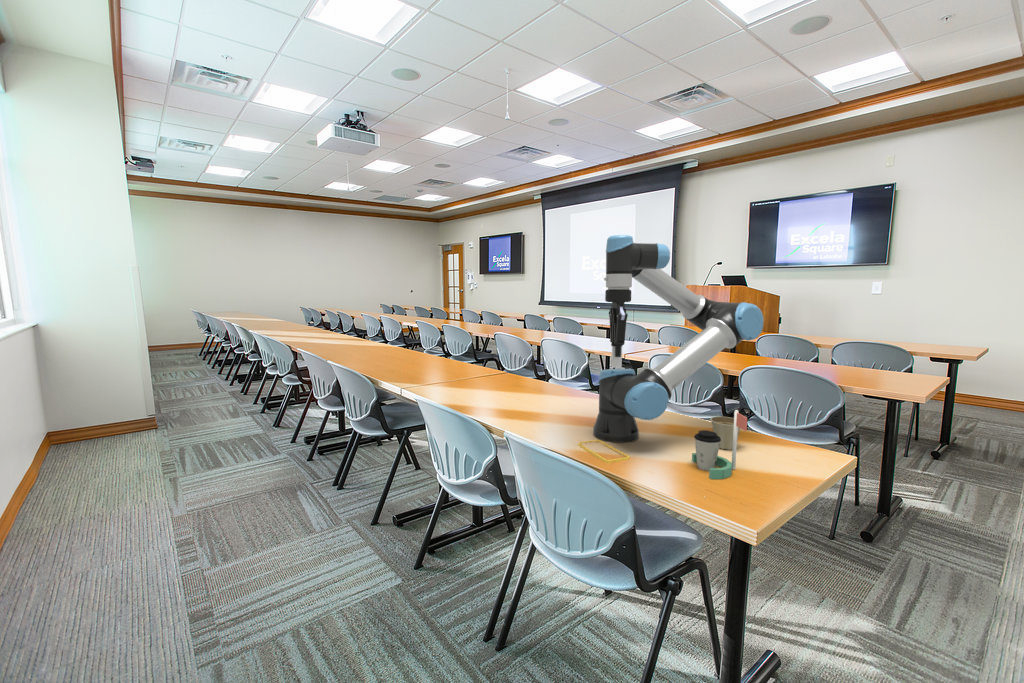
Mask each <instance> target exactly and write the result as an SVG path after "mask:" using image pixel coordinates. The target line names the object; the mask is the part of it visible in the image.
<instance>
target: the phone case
mask: <svg viewBox="0 0 1024 683" xmlns="http://www.w3.org/2000/svg"><path fill="white" fill-rule="evenodd" d="M593 442H595V443H599V442H600V444H601V443H602V444H601V445H603V444H604V445H603V446H605V447H606V448H608V447H609V449H610V448H611V449H610V450H612V449H613V451H614V452H616V453H617V452H618V453H617V454H620V455H622V456H623V457H620V458H615V459H613V458H612V459H606V458H604V457H602V456H601V455H599V454H598V453H596V452H595V451H593V450H591V449H589V448H588V447H586V446H585V445H582V444H587V443H589V444H591V443H593ZM577 443H578V447H579V446H580V447H579V448H581V449H582V448H583V450H584V451H585V452H588V454H591V455H593V456H594V457H596V458H597V459H599V460H600V461H601V462H603V463H606V464H614V462H615V463H619V461H621V462H625V461H624V460H627V461H629V460H630V456H629V454H626V453H624V452H623V451H621V450H619V449H617V448H616V447H613V446H612V445H610V444H607V443H606V442H604V440H601V439H593V440H586V441H581V442H580V441H579V442H577ZM624 456H625V457H624Z"/></svg>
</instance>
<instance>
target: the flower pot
mask: <svg viewBox="0 0 1024 683" xmlns="http://www.w3.org/2000/svg"><path fill="white" fill-rule="evenodd" d="M709 420H710V422H711V425H712V432H715V433H717V436H719V437H720V438H721V441H720V445H719V449H720V448H721V450H728V451H732V448H733V430H734V417H730V416H729V417H728V416H713V417H711V418H710V419H709ZM741 430H742V429H741V428H739V427H738V432H737V441H738V440H739V435H740V431H741Z"/></svg>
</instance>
